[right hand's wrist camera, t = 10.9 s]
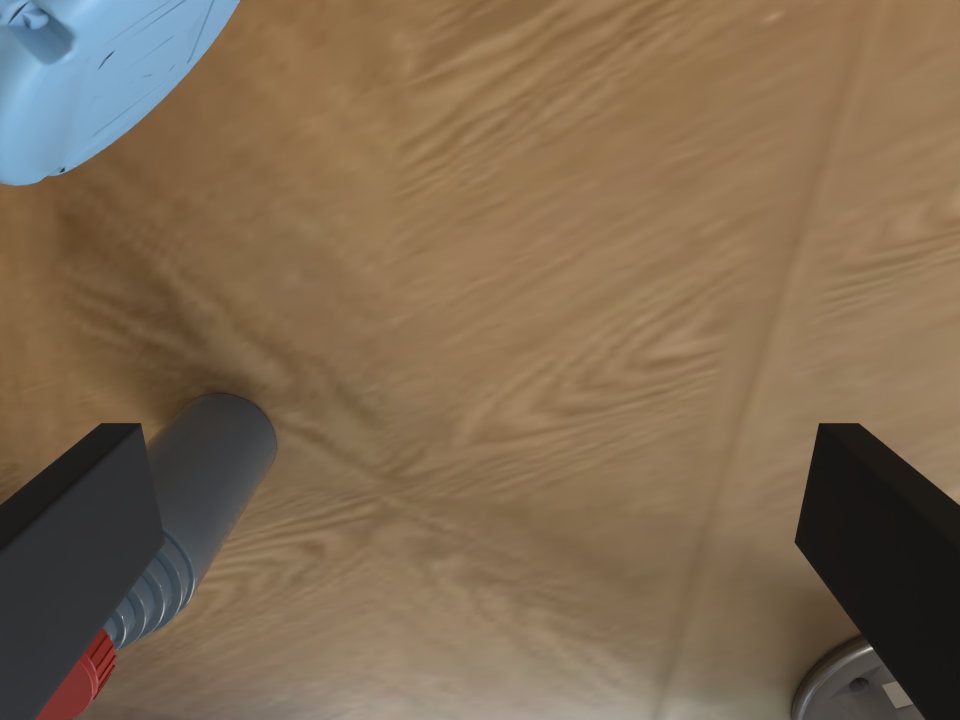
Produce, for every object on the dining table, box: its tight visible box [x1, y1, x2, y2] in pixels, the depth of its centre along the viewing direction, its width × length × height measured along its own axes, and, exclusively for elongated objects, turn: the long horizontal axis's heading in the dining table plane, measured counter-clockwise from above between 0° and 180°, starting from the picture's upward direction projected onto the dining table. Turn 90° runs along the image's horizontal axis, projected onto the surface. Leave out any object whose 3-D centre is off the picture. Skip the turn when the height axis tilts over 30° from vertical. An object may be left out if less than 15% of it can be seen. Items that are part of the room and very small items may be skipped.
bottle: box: [103, 393, 277, 651], centre depth 33 cm, size 7×7×19 cm
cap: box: [35, 628, 116, 720], centre depth 25 cm, size 4×4×2 cm
